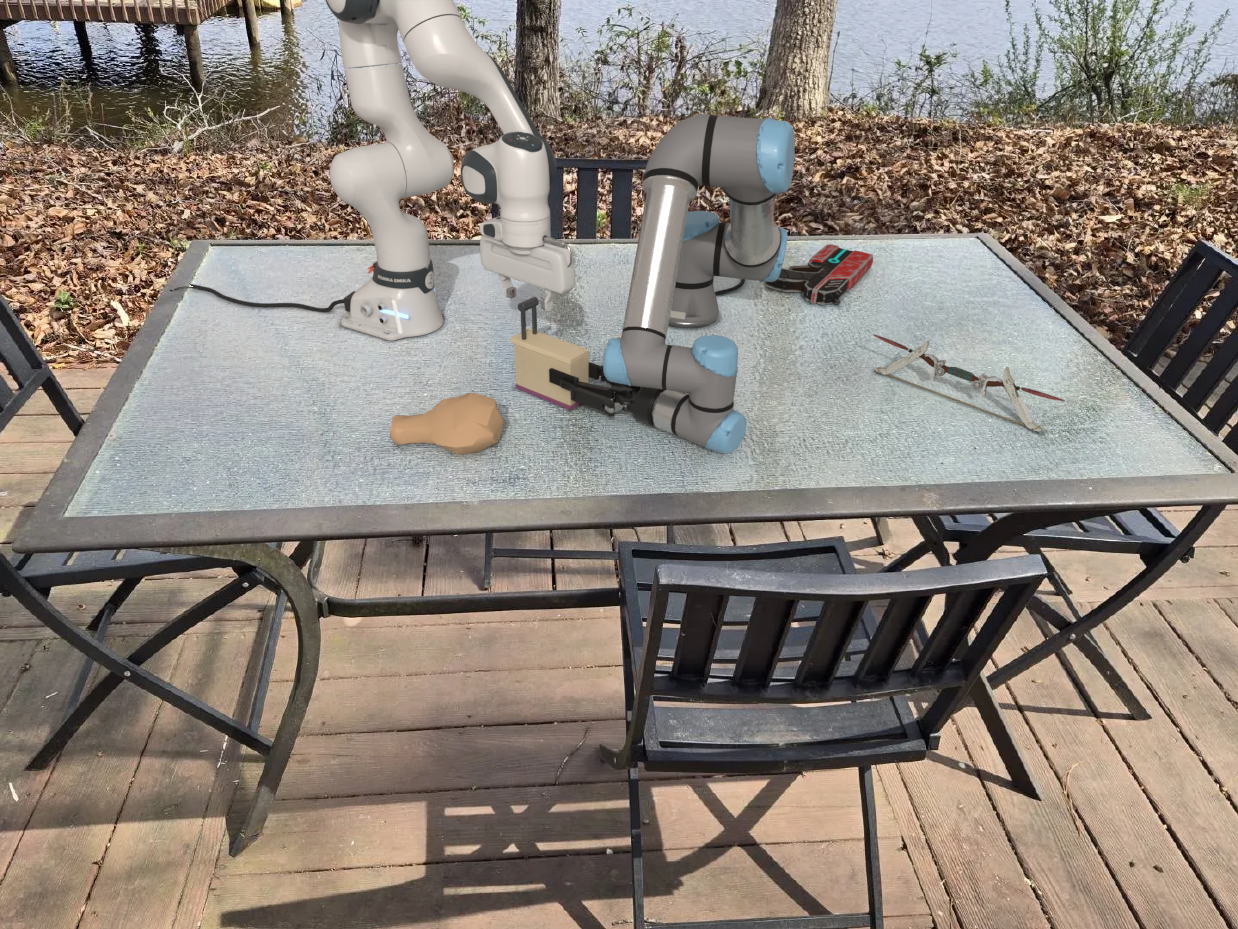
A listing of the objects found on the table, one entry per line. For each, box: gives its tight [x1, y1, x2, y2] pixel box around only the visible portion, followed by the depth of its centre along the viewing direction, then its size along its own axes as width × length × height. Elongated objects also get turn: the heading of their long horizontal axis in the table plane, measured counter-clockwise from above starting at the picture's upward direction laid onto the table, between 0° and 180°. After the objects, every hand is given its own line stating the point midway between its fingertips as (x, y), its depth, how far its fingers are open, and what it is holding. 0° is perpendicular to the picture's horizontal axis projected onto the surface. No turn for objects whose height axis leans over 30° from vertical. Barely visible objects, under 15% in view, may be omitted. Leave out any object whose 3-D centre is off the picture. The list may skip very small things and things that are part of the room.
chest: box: [513, 344, 590, 411], centre depth 168 cm, size 14×6×10 cm, turn 53°
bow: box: [872, 333, 1066, 432], centre depth 170 cm, size 39×2×10 cm, turn 47°
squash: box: [389, 392, 505, 455], centre depth 152 cm, size 11×20×9 cm, turn 90°
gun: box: [764, 243, 874, 306], centre depth 221 cm, size 4×31×19 cm
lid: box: [509, 296, 590, 365], centre depth 163 cm, size 15×6×8 cm, turn 53°
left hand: (528, 302), depth 164 cm, fingers open, 8 cm apart
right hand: (561, 368), depth 166 cm, fingers closed on chest, 5 cm apart
